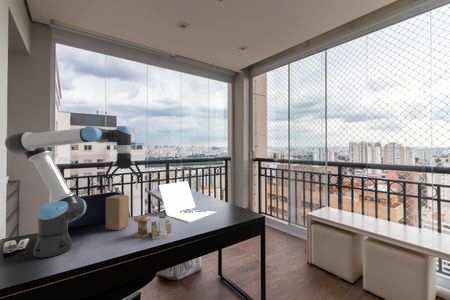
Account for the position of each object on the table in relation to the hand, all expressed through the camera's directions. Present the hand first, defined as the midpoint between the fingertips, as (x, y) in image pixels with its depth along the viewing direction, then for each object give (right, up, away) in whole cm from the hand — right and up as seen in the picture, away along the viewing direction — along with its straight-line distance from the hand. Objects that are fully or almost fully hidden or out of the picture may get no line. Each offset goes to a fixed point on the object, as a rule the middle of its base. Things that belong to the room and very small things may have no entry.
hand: (123, 189), depth 124 cm
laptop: (+30, -28, +43) cm, 59 cm away
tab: (+21, -26, +1) cm, 33 cm away
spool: (+10, -27, +1) cm, 29 cm away
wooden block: (-11, -27, +14) cm, 32 cm away
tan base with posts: (+21, -27, +1) cm, 34 cm away
